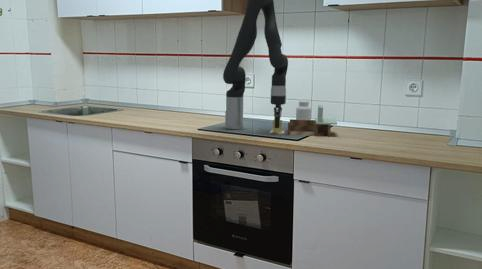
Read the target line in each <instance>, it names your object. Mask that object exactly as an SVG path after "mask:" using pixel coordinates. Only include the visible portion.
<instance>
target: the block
mask: <svg viewBox="0 0 482 269" xmlns="http://www.w3.org/2000/svg"><path fill="white" fill-rule="evenodd" d="M272 130H273V132H282V130H283V120H282V119H280V121H279V128H275V120H274V119H273V120H272Z"/></svg>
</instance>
